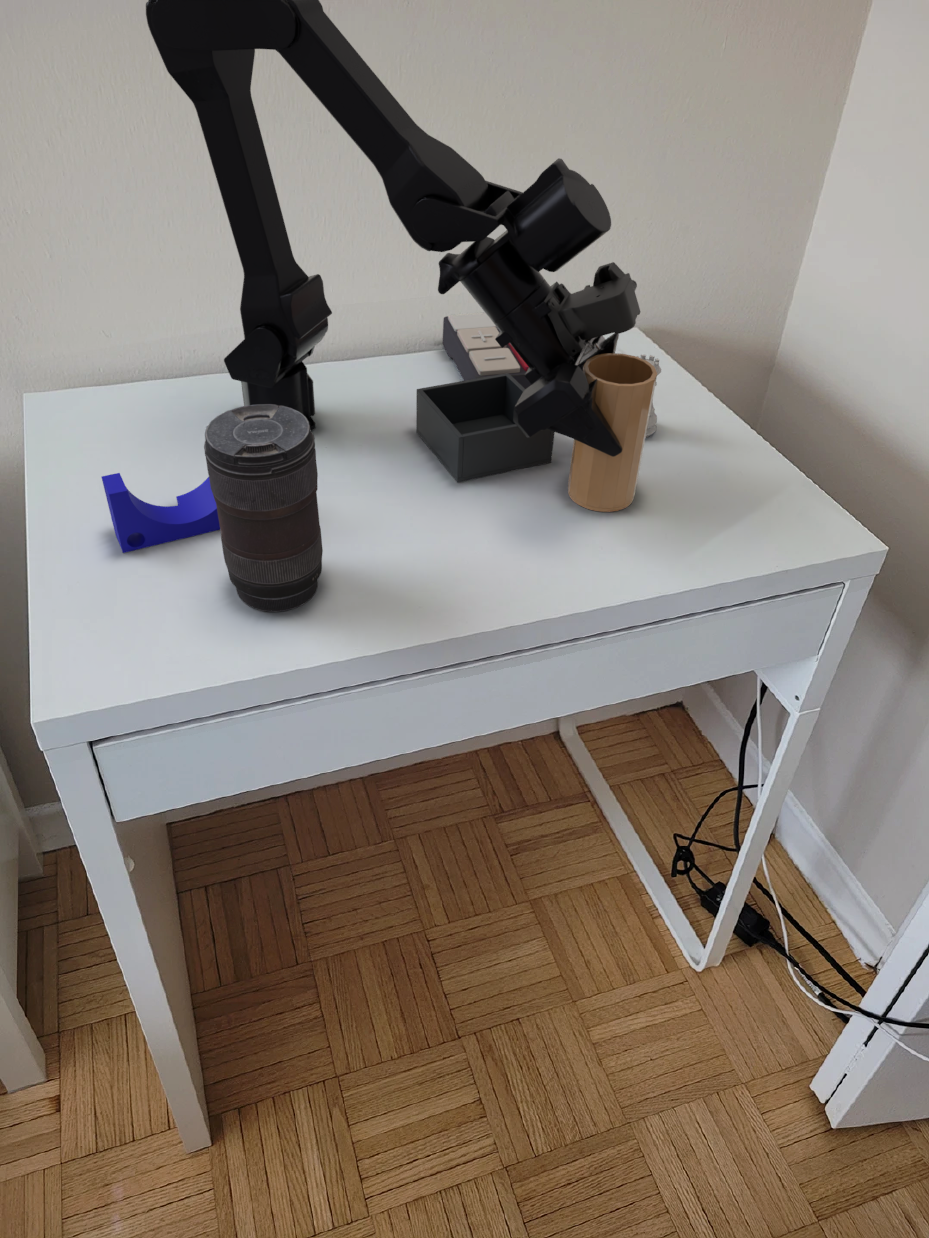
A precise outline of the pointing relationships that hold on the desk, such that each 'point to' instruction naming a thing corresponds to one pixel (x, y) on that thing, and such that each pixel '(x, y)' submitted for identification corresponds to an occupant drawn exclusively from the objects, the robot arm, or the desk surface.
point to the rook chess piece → (653, 416)
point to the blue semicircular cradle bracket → (158, 515)
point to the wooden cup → (627, 412)
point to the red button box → (480, 348)
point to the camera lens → (266, 503)
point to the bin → (478, 428)
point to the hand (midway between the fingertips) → (624, 436)
